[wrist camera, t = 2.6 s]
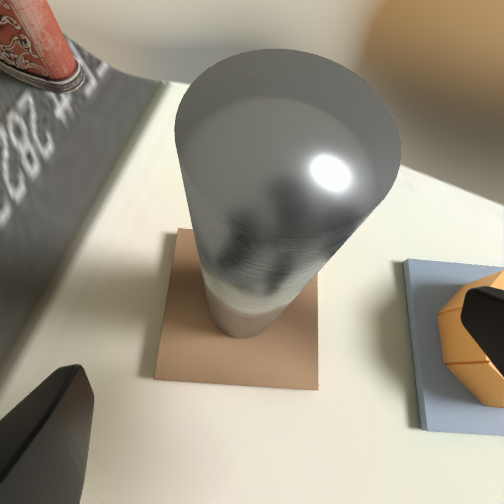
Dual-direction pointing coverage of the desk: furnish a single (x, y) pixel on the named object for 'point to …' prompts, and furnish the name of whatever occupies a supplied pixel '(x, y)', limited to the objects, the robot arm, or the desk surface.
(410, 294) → the socket plate
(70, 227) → the desk surface
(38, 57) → the lighter
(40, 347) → the desk surface
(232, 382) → the board
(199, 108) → the steel peg
